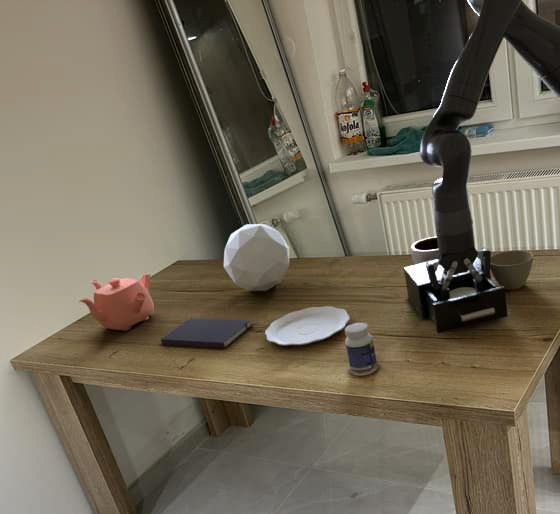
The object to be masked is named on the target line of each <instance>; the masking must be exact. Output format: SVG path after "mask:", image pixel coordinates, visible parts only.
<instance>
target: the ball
mask: <svg viewBox="0 0 560 514" xmlns="http://www.w3.org/2000/svg"><path fill="white" fill-rule="evenodd" d="M289 267H290V247H289V245H288V244H287V242H286V241H285V239H284V238H283V236H282V234H281V232H280V231H278V230H277V229H275V228H274V227H272V226H269V225H268V224H263V223H262V224H260V223H259V224H257V223H256V224H255V223H253V224H251V223H249V224H248V223H246V224H245V225H243V226H242V227H240V228H239V229H238V228H237V230H235V231H234V232H232V233H231V234H230V236H229V237H228V240H227V243H226V244H225V247H224V253H223V269H224V270H225V271H226V273H227V274H228V276H229V277H230V278H231V280H232V282H233V284H236V285H237V286H238V287H240V288H242V289H244V290H245V291H247V292H267V291H269V290H270V289H272V288H273V287H275V286H276V285H278V284H280V283H282V281H283V280H284V277H285V275H286V273H287V271H288V269H289Z"/></svg>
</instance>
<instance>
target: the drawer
mask: <svg viewBox="0 0 560 514" xmlns="http://www.w3.org/2000/svg"><path fill="white" fill-rule="evenodd" d="M473 280H474V277H473V276H468V277H464V278H460V279H456V280H452V281H450V283H449V286H448V289H449V292H450V291H452V290H454V289H457V288H462V287H471V288H474V285H473ZM482 287H483V291H481V292H477V293H473V294H469V295H465V296H461V297H457V298H453V299H448V300H444V301H443V300H442V297H441V290H440V289H438V290H435V289H434V288H433V287H432V286H428V287H424V288H422V289H423V296H424V303H425V310H426V312H427V313H428V315H429V316H430V317H431V318H430V320H432V321H433V323H434V325H435V329H436V330H435V331H436V333H437V334H442V333H446V332H451V331H454V330H459V329H463V328H466V327H467V328H468V327H471V326H475V325H479V324H484V323H487V322H491V321H496V320H500V319H504V318H508V306H507V295H506V293H507V292H506V289H505V287H503V286H502V287H501V286H498V285H497V284H496V283H495V281H493V280H492V278H491V279H490V278H488V277H485V278H484V279H483V280H482Z"/></svg>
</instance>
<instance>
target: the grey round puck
mask: <svg viewBox="0 0 560 514" xmlns="http://www.w3.org/2000/svg"><path fill="white" fill-rule="evenodd" d="M473 293H477V291H476V289H474V288H471V287H462V288H457V289H454V290H452V291H450V292H449V294H450V299H453V298H457V297H461V296H465V295H469V294H473Z"/></svg>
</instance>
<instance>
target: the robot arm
mask: <svg viewBox="0 0 560 514" xmlns="http://www.w3.org/2000/svg"><path fill="white" fill-rule="evenodd" d="M467 2H468V4H469V5H470V7H471V8H472V10H473V11H474V12H475V13H476V14H477V15H478V18H477V21H476V24H475V26H474V28H473V30H472V32H471V34H470V36H469V38H468V40H467V42H466V44H465V46H464V47H463V49H462V51H461V53H460V54H459V56H458V58H457V60H456V61H455V64H454V65H453V68H452V69H451V71H450V75H449V77H448V80H447V83H446V86H445V90H444V92H443V94H442V95H443V96H442V98H441V103H440V105H439V107H438V108H437V110H436V111H435V113H434V115H433V116H432V118H431V120H430V121H429V123H428V125H427V127H426V129H425V131H424V132H423V134H422V137H421V140H420V144H419V155H420V159H421V161H422V162H423V163H424V164H425V165H427V166H429V167H436V168H442V177H441V178H439V179H437V180H435V181H434V182H433V183H432V186H431V192H432V201H433V209H434V224H435V226H434V227H435V234H436V237H437V242H438V250H439V257H438V260H436V261H434V262H431V263H430V262H426V264H425V265H426V269H427V272H428V276H429V279H430V283H431V286H432V287H433V288H434V289H435V290H438V289H440V290H441V297H442V300H443V301H444V300H448V299H450V294H449V289H448V286H449V283H450V281H451V280H452V277H453V275H458V274H459V273H466V272H468V271H469V272H470V273H471V275H472V276H473V277H474V280H473V285H474V289H476V291H477V292H481V291H483V287H482V280H483V279H484V278H485V277H489V276H490V274H491V269H490V262H491V255H492V252H491V250H489V249H488V248H487V247H482V248H481V249H476V246H475V237H474V236H475V235H474V227H473V224H474V223H473V222H474V220H473V217H472V211H471V206H470V201H469V193H468V192H469V191H468V180H469V174H470V167H471V162H472V161H471V160H472V146H471V141H470V140H469V138H468V136H467V135H466V134H465V133H464V132H462V131H460V130H458V128H459V127H460V126H461V125H462V124H464V123H467V122H469V121H472V119H473V118H474V117H475V115H476V112H477V108H478V106H479V104H480V100H481V97H482V94H483V91H484V87H485V84H486V81H487V78H488V76H489V73H490V70H491V68H492V65H493V64H494V60H495V58H496V56H497V53H498V51H499V49H500V46H501V44H502V42H503V40H504V39H505V41H507V42H508V43H509V45H510V46H511V47H512V48H513V49H514V50H515V52H516V53H517V54H518V55H519V56H520V57H521V58H522V59H523V60H524V61H525V63H526V64H527V65H528V66H529V67H530V68H531V69H532V71H533V72H534V73H535V74H536V76H537V77H538V78H539V79H540V81H542V82H543V83H544V85H545V86H546V88H548V89H549V90H550V91H551V92H552V93H553V94H554V95H555V97H556V98H558V100H560V25H558V24H556V23H554V22H552V21H550V20H548V19H546V18H545V17H543V16H540V15H539V14H537V13H536V12H534V11H533V10H532V9H531V8H530V7H529V6H528V5H527V4H526V3H525V2H524V1H523V0H467ZM477 257H478V258H479V259H480V260H481V271H480V272H479V273H478V271H477V270H476V268H475V267H474V266H473V263H474V261H475V260H476V258H477ZM439 265H440V266H442V267H443V268H444V269H443V272H442V278H441V280H440V282H438V280H437V276H436V273H435V272H436V271H437V270H438V266H439Z"/></svg>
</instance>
